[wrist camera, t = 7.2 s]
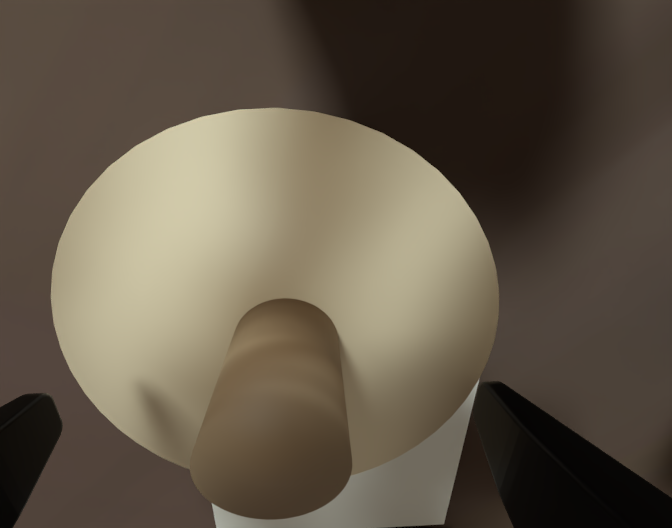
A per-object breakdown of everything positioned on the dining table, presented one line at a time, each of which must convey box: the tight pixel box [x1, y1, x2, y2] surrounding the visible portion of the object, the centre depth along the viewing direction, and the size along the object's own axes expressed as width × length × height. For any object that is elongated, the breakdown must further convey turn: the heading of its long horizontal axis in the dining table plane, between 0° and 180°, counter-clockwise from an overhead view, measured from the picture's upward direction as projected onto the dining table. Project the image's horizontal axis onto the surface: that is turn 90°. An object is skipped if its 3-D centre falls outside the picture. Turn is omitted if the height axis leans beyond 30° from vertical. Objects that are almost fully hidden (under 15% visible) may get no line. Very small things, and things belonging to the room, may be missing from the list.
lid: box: [51, 108, 499, 520], centre depth 8 cm, size 12×12×4 cm
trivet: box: [212, 380, 479, 528], centre depth 19 cm, size 14×14×1 cm
